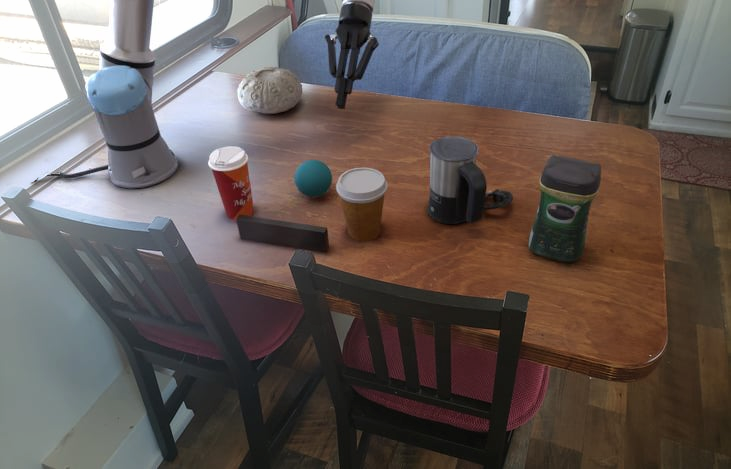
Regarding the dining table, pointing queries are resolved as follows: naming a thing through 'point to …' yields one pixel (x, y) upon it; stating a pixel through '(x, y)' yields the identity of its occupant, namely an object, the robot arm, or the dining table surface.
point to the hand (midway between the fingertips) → (340, 106)
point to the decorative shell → (269, 90)
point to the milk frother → (459, 183)
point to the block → (283, 233)
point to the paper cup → (232, 180)
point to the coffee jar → (564, 208)
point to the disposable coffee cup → (362, 201)
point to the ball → (313, 178)
